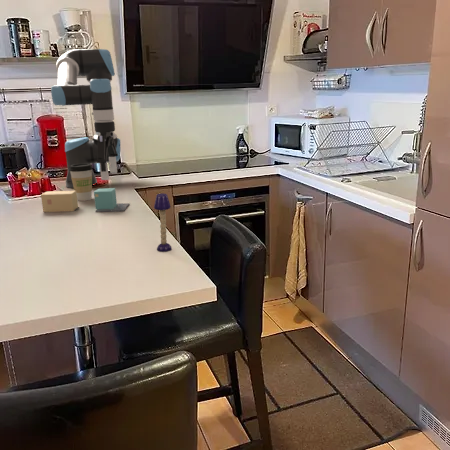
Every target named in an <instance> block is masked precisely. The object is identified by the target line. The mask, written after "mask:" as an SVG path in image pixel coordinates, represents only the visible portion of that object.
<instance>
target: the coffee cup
mask: <svg viewBox="0 0 450 450" xmlns="http://www.w3.org/2000/svg"><path fill="white" fill-rule="evenodd" d="M91 165H92V164H91ZM91 165H90V164H75V165H71V166H70V169H69V171H70V173H71V179H72V183H73V187H74V188H73V191H76V194H77V202H84V201H90V200H92V198H93V196H92V194H93V193H92V192H93V186H92V170H93V166H92V167H91Z"/></svg>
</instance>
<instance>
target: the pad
mask: <svg viewBox="0 0 450 450" xmlns="http://www.w3.org/2000/svg"><path fill="white" fill-rule="evenodd" d="M129 206H130V202H129V203H128V202H125V203H124V202H122V203H117V205H116V207H115V208H114V209H95V210H94V211H95V213H112V212H114V213H115V212H125V210H127V208H128V207H129Z"/></svg>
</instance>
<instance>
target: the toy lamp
mask: <svg viewBox="0 0 450 450" xmlns="http://www.w3.org/2000/svg"><path fill="white" fill-rule="evenodd" d="M153 208H154V210H158V211H159V217H160V221H159V222H160V243H159V244H158V245H157V247H156V250H157V251H158V252H160V253H162V252H163V253H166V252H170V251H172V250H173V249H172V245H171V244H169V243H168V242H167V219H166V218H167V214H166V211H167V210H169V209H171V203H170V200H169V197H168V194H167V193H157V194H156V197H155V201H154V205H153Z"/></svg>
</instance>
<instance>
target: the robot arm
mask: <svg viewBox="0 0 450 450" xmlns="http://www.w3.org/2000/svg"><path fill="white" fill-rule="evenodd" d="M55 66H56V67H55V68H56V69H55V70H56V72H57V84H56V85H52V86H51V87H50V90H51V91H50V94H51V100H52V104H53V105H55V106H62V107H64V106H65V107H66V106H81V105H91V106H92V113H91V115H92V116H93V121H94V123H93V125H94V133H95V134H94V135H93V136H92V139H90V138H89V137H79V138H74V139H69V140H66V142H64V152H65V160H66V167H67V173H66V174H67V175H66V179H65V187H66V188H69V189H70V188H72V189H74V187H73V183H72V179H71V173H70V171H69V169H70V166H71V165H75V164H90V165H91V167H92V168H93V166H92V164H99V170H100V178H101V181H108V180H110V176H109V173H110V174H117V173H118V167H117V166H118V165H117V162H119V161H120V159H121V138H119V137H118V136H117V134H116V133H115V131H116V126H115V125H116V124H115V121H114V120H115V115H114V106H113V105H114V104H113V96H112V94H113V93H112V84H111V82H112V81H113V77H115V76H116V75H115V68H114V67H115V66H114V64H113V58H112V54H111V52H110V50H108V49H105V48H104V49H103V48H87V49H86V48H84V49H77V48H76V49H75V48H74V49H71V50H69V51H66V52H65V53H63V54H62V55H61V56H59V58H58V59H57V61H56V65H55ZM78 77H85V79H86V81H87V82H88V83H89V84H78ZM108 163H109V166H108ZM95 183H97V184H98V180H97V177H96V175H95V173H94V170H93V169H92V185H93V184H95Z"/></svg>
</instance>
